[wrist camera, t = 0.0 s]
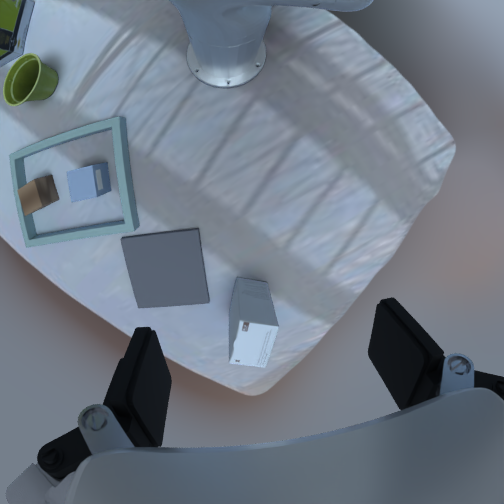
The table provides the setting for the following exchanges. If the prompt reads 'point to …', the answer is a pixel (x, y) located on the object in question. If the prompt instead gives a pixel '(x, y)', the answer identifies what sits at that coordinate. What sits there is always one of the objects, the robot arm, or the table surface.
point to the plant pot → (29, 81)
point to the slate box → (89, 182)
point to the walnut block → (37, 194)
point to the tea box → (13, 28)
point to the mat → (166, 268)
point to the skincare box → (251, 323)
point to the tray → (123, 178)
